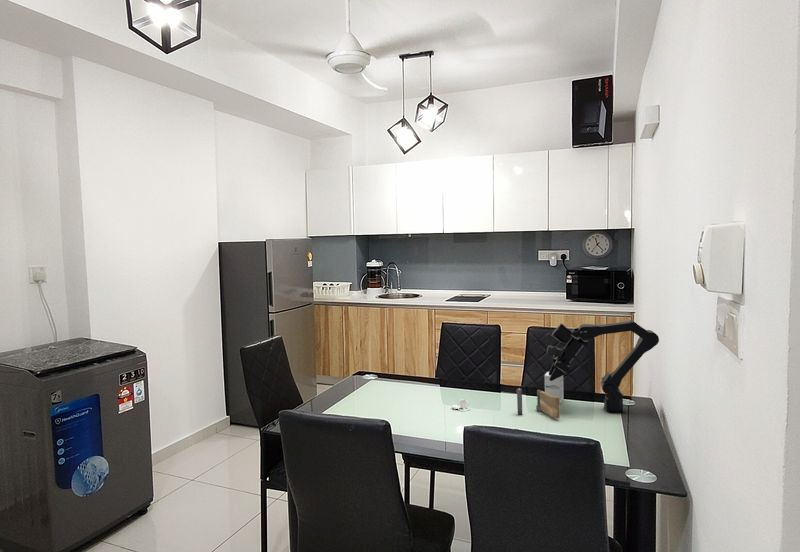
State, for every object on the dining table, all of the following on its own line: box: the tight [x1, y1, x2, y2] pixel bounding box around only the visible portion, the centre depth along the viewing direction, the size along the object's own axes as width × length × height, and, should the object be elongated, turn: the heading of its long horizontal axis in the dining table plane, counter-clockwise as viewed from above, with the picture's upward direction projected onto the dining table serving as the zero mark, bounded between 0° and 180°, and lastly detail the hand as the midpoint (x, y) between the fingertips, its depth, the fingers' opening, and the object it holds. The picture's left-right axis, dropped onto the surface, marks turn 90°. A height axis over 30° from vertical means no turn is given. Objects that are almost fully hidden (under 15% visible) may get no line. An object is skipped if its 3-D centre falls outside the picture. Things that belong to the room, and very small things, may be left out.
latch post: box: [516, 387, 523, 416], centre depth 212 cm, size 2×2×11 cm
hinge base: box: [535, 405, 543, 413], centre depth 216 cm, size 3×3×2 cm
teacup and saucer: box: [451, 399, 470, 410], centre depth 224 cm, size 9×8×4 cm
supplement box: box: [544, 371, 564, 405], centre depth 228 cm, size 7×7×13 cm
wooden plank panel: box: [536, 389, 561, 420], centre depth 210 cm, size 2×14×8 cm, turn 16°
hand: (549, 377), depth 218 cm, fingers open, 9 cm apart
